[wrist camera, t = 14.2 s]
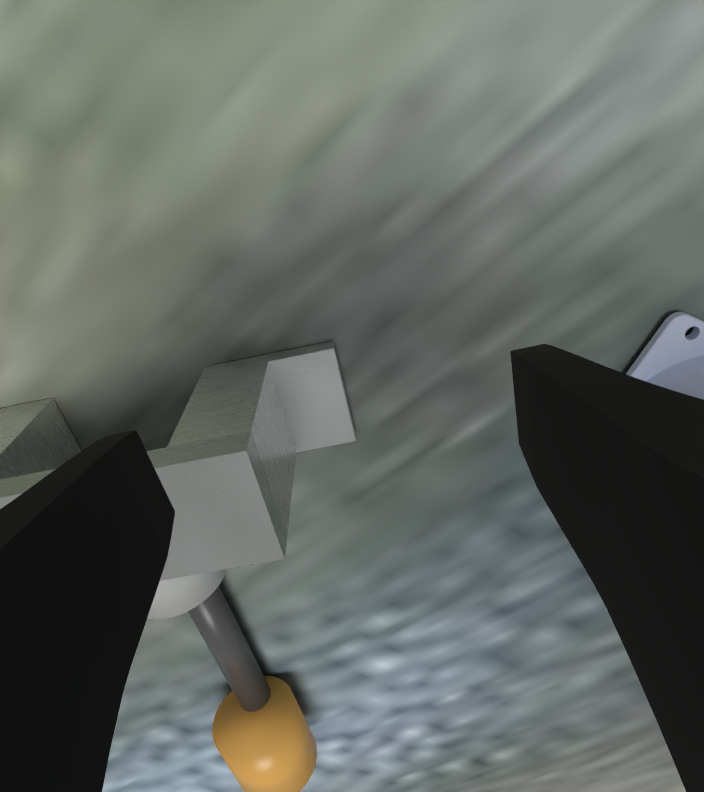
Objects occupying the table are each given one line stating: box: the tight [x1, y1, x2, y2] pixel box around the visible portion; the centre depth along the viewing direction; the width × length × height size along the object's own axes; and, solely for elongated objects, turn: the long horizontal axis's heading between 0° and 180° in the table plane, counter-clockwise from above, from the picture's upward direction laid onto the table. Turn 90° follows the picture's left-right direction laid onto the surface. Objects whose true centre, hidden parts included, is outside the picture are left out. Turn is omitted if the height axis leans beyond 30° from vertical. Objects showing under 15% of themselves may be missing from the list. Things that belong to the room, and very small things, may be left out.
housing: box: [0, 341, 356, 581], centre depth 19 cm, size 4×16×6 cm, turn 102°
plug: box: [147, 569, 317, 792], centre depth 25 cm, size 16×4×4 cm, turn 14°
